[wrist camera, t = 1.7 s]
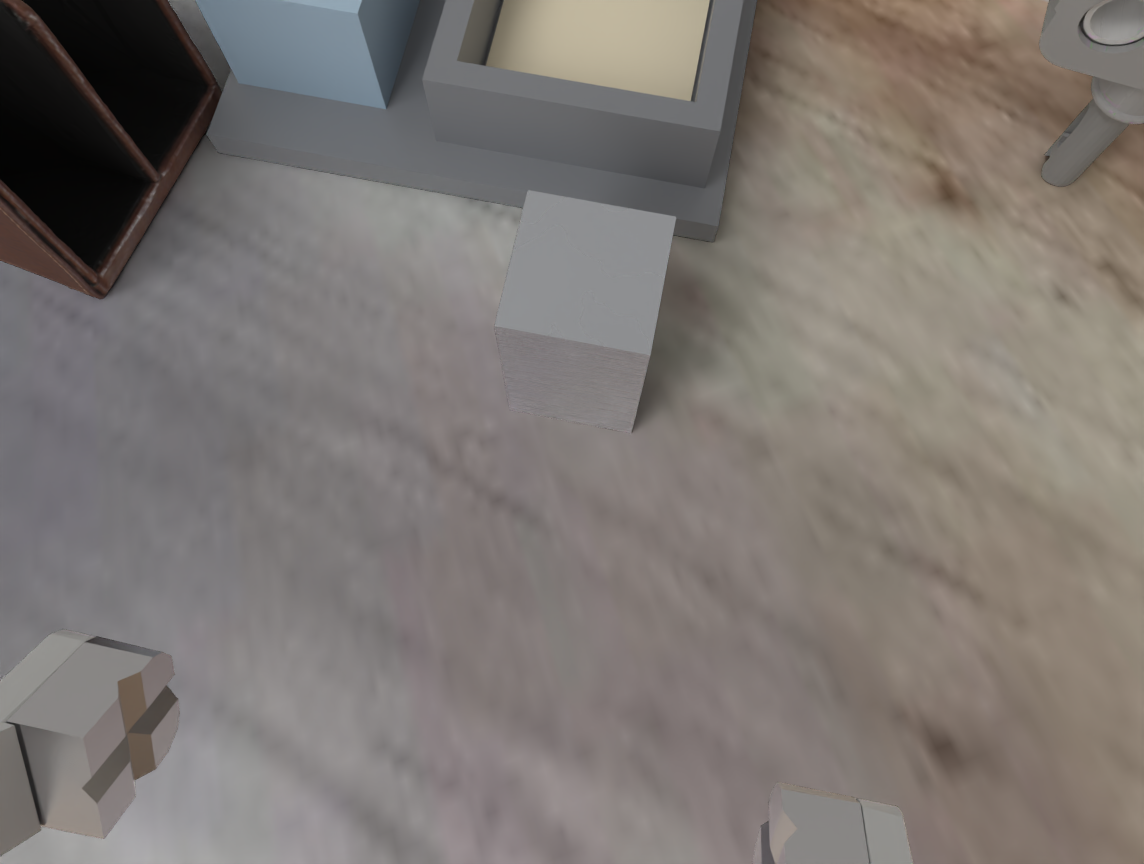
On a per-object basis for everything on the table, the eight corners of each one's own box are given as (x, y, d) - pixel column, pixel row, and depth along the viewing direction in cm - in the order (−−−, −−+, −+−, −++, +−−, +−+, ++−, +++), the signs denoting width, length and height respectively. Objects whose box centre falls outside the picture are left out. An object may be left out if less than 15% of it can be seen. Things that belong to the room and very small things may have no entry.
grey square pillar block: (509, 410, 32) (494, 325, 25) (535, 300, 34) (527, 189, 26) (631, 433, 32) (650, 355, 25) (652, 321, 33) (676, 216, 26)
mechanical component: (1181, 238, 34) (1417, 59, 25) (923, 162, 35) (1056, -39, 26) (1191, 175, 35) (1424, -21, 26) (939, 103, 36) (1073, -113, 27)
